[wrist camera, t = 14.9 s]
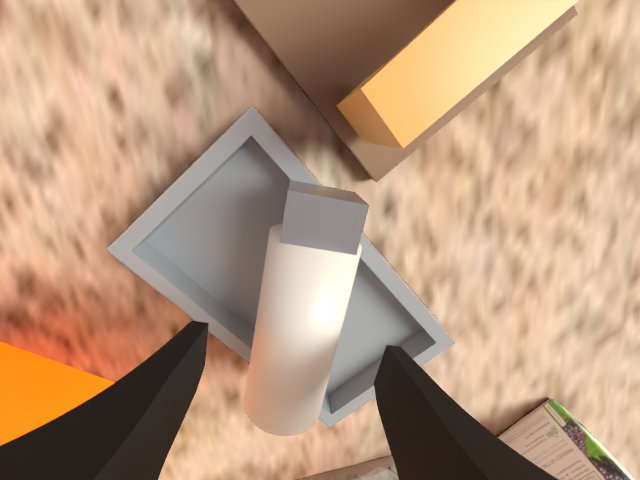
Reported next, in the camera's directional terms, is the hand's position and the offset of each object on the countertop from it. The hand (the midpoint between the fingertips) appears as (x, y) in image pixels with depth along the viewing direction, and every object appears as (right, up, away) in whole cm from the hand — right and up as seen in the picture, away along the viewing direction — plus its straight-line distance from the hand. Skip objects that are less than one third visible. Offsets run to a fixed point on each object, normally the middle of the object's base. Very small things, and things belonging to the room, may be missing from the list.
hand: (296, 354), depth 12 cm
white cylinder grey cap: (0, +1, +4) cm, 4 cm away
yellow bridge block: (+6, +13, +1) cm, 14 cm away
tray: (0, +2, +6) cm, 6 cm away
